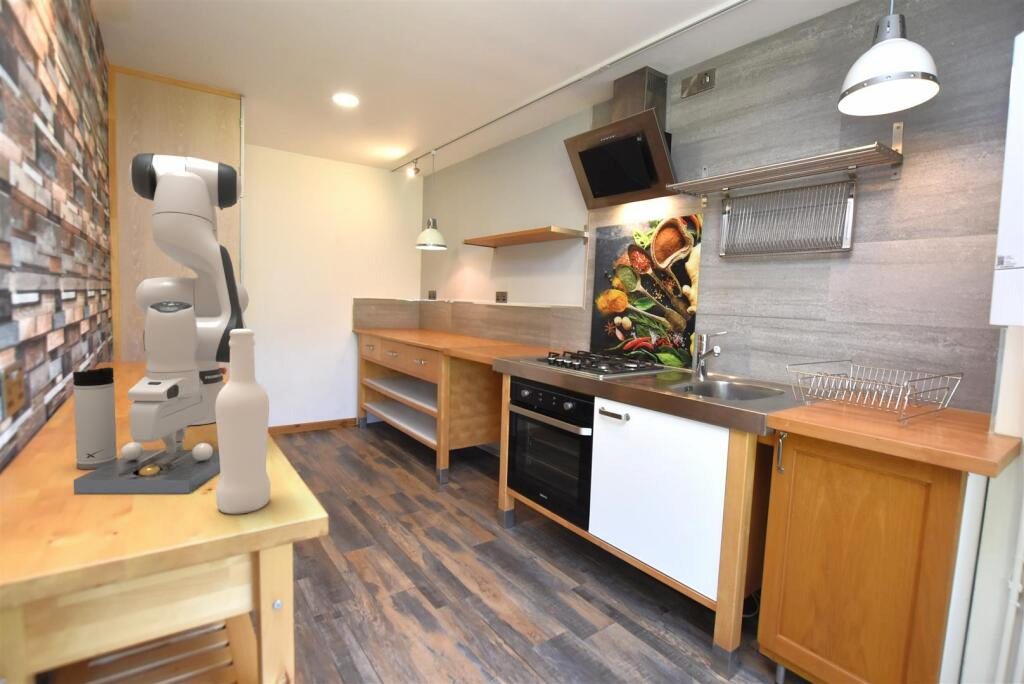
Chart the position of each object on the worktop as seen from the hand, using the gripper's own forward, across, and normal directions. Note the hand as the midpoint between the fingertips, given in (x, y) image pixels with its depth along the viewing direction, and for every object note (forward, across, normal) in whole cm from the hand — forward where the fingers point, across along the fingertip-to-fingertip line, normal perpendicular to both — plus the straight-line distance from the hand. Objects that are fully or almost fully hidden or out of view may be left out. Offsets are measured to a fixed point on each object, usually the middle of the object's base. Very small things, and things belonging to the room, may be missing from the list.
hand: (174, 451), depth 100 cm
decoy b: (-1, +3, -6) cm, 7 cm away
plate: (+3, +5, 0) cm, 6 cm away
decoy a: (-1, +3, +7) cm, 7 cm away
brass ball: (+2, +9, 0) cm, 9 cm away
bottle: (+3, +18, +21) cm, 28 cm away
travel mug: (+4, -1, -16) cm, 16 cm away
